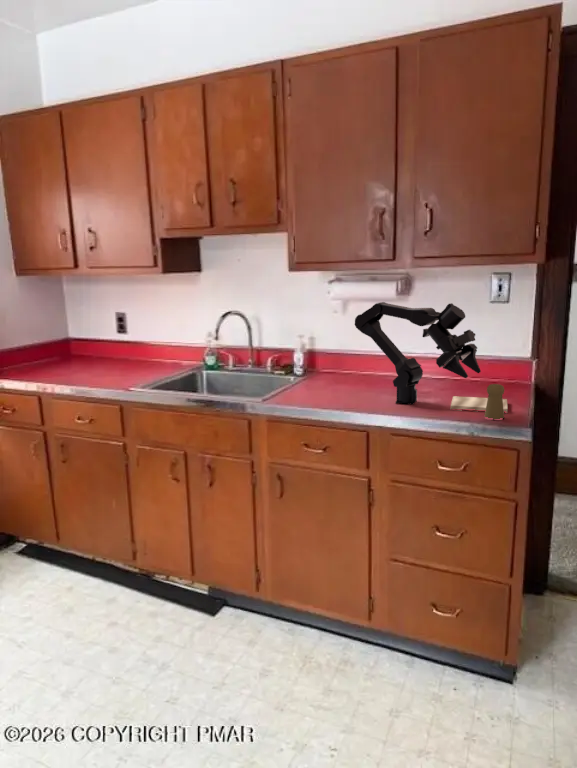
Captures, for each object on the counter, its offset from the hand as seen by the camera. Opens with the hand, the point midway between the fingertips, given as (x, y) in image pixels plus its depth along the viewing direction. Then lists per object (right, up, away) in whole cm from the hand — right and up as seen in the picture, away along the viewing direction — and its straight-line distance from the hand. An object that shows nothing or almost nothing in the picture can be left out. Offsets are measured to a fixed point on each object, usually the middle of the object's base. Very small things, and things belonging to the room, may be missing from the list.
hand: (473, 374), depth 184 cm
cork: (+6, -14, -2) cm, 15 cm away
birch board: (+6, -11, +12) cm, 17 cm away
